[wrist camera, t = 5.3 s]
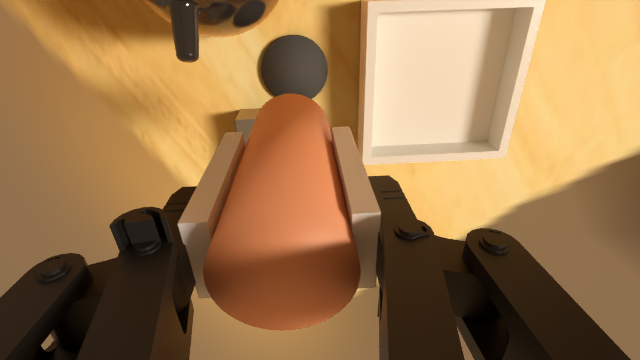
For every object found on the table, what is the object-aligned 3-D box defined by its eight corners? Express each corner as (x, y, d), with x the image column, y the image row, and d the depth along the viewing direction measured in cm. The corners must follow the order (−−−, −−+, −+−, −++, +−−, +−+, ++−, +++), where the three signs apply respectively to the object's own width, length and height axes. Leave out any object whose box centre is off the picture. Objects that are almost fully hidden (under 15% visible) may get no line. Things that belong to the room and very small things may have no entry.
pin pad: (258, 36, 30) (257, 36, 30) (326, 33, 30) (326, 34, 30) (265, 103, 33) (265, 104, 33) (327, 100, 33) (328, 101, 33)
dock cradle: (361, 0, 29) (368, 1, 26) (522, -6, 29) (547, -5, 27) (357, 151, 36) (362, 165, 33) (488, 144, 36) (505, 157, 33)
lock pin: (249, 96, 17) (186, 218, 8) (327, 91, 18) (361, 206, 8) (259, 166, 19) (219, 335, 10) (330, 161, 19) (359, 324, 10)
